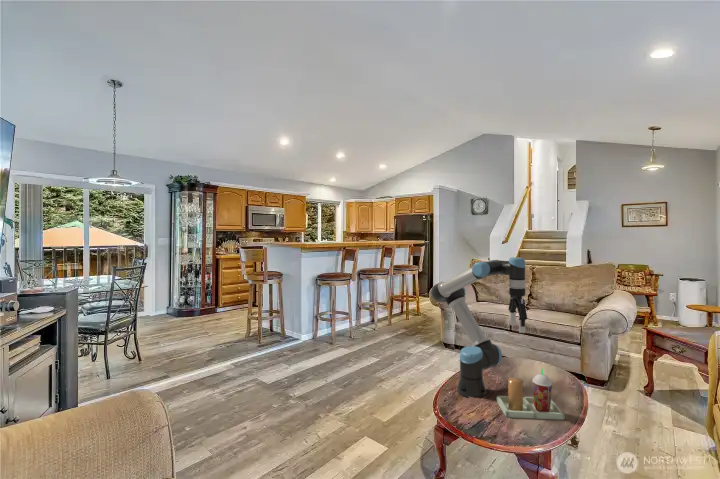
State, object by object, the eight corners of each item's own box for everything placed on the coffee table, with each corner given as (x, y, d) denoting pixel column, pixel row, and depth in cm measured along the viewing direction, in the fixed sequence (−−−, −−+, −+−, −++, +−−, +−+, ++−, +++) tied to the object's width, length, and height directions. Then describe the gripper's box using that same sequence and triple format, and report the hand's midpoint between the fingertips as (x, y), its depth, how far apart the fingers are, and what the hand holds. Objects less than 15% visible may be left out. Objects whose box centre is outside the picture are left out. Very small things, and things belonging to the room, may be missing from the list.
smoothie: (556, 412, 159) (556, 370, 159) (543, 416, 156) (543, 373, 156) (540, 404, 167) (540, 364, 167) (528, 407, 164) (528, 367, 163)
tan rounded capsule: (510, 412, 160) (510, 383, 160) (506, 405, 167) (506, 377, 166) (524, 412, 159) (524, 383, 159) (520, 405, 166) (519, 377, 166)
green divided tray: (506, 419, 156) (506, 411, 156) (496, 402, 171) (496, 395, 171) (564, 421, 153) (564, 414, 153) (549, 404, 169) (549, 397, 168)
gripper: (534, 291, 160) (534, 336, 161) (516, 283, 185) (516, 322, 186) (518, 291, 161) (518, 335, 162) (502, 283, 186) (502, 322, 186)
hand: (517, 328), depth 174 cm, fingers open, 13 cm apart
